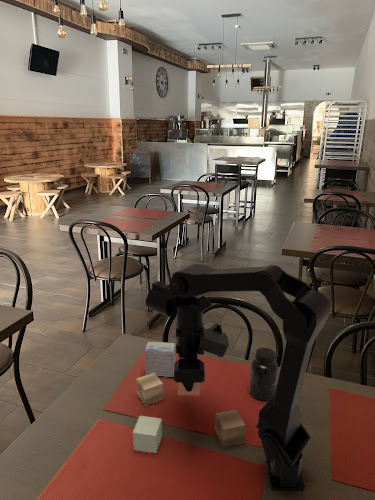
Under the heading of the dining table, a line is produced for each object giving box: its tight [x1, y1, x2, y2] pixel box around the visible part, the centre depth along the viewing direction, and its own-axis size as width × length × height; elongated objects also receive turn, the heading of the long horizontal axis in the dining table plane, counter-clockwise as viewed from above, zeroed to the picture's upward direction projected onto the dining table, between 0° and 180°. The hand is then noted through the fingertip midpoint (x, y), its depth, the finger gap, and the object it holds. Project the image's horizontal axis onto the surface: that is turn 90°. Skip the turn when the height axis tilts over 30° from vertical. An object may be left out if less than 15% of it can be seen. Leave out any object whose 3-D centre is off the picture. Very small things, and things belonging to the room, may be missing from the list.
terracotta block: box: [177, 382, 201, 396], centre depth 89 cm, size 5×5×5 cm
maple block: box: [136, 373, 164, 406], centre depth 99 cm, size 5×5×5 cm
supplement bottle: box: [249, 347, 279, 401], centre depth 100 cm, size 7×7×12 cm
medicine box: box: [144, 341, 176, 378], centre depth 108 cm, size 8×4×9 cm, turn 84°
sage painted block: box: [132, 415, 163, 453], centre depth 85 cm, size 5×5×5 cm
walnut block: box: [215, 409, 246, 449], centre depth 87 cm, size 5×5×5 cm
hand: (189, 383), depth 89 cm, fingers closed on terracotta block, 5 cm apart
